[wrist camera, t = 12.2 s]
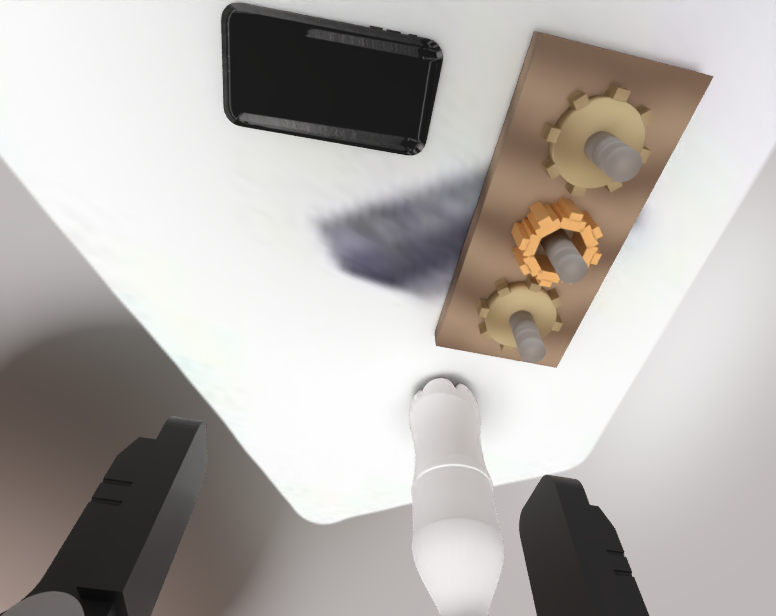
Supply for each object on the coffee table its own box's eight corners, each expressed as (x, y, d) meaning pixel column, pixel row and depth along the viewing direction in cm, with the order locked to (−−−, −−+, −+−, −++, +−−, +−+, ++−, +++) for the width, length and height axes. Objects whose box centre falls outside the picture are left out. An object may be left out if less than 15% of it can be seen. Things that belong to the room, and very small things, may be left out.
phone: (422, 158, 36) (224, 123, 35) (422, 153, 37) (228, 120, 36) (446, 41, 32) (220, -3, 31) (445, 39, 33) (225, -3, 31)
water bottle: (396, 388, 50) (392, 667, 29) (455, 360, 48) (496, 642, 27) (430, 427, 54) (448, 703, 33) (487, 403, 51) (546, 684, 30)
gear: (527, 190, 36) (536, 204, 33) (603, 206, 36) (618, 222, 34) (500, 260, 39) (506, 279, 37) (570, 274, 40) (581, 293, 37)
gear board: (534, 31, 32) (569, 41, 25) (697, 72, 33) (772, 92, 26) (434, 332, 46) (440, 390, 39) (551, 354, 47) (575, 413, 40)
